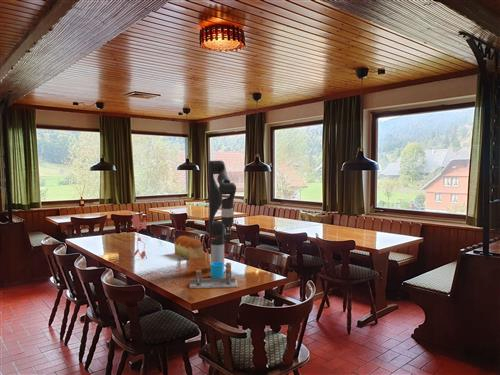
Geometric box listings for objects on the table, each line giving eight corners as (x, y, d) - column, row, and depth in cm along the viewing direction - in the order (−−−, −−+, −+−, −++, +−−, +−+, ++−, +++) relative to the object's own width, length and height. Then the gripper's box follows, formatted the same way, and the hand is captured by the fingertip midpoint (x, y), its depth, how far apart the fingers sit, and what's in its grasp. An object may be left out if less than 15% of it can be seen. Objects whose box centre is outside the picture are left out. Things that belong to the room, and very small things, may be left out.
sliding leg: (225, 278, 232) (225, 262, 232) (230, 278, 233) (230, 262, 232) (226, 282, 225) (226, 265, 224) (231, 282, 225) (231, 265, 224)
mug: (215, 278, 240) (214, 266, 240) (208, 275, 247) (208, 263, 246) (230, 275, 247) (230, 263, 247) (223, 272, 254) (223, 260, 254)
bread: (203, 257, 298) (203, 239, 297) (189, 259, 290) (189, 240, 290) (187, 252, 318) (187, 234, 317) (174, 254, 310) (174, 236, 309)
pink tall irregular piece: (136, 254, 308) (135, 211, 305) (153, 259, 289) (152, 214, 287) (118, 257, 297) (117, 213, 295) (134, 263, 279) (133, 216, 276)
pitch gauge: (190, 283, 230) (190, 270, 230) (236, 282, 233) (236, 269, 233) (189, 288, 220) (189, 274, 220) (237, 287, 223) (237, 273, 223)
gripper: (220, 214, 238) (220, 239, 239) (221, 217, 224) (221, 244, 225) (232, 214, 239) (232, 239, 240) (234, 217, 224) (234, 244, 226)
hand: (227, 241), depth 232 cm, fingers open, 8 cm apart
